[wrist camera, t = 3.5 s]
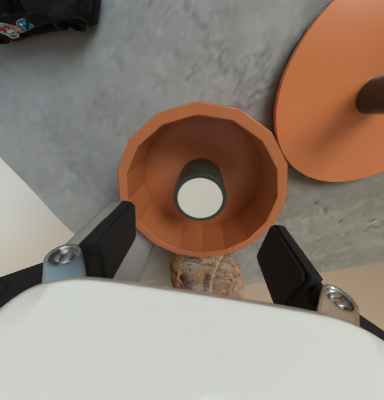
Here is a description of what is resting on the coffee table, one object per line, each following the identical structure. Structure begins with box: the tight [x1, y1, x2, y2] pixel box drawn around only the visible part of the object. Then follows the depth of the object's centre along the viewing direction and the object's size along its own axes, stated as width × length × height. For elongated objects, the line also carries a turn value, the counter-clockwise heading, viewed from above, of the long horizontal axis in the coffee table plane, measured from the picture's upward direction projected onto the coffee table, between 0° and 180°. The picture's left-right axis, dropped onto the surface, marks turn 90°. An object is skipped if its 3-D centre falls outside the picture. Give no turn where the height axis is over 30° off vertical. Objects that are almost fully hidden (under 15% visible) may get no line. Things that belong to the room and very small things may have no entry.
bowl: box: [118, 102, 288, 258], centre depth 17 cm, size 15×15×6 cm
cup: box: [65, 201, 154, 282], centre depth 19 cm, size 8×8×10 cm
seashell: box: [170, 252, 244, 298], centre depth 23 cm, size 10×9×10 cm
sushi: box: [173, 159, 227, 221], centre depth 16 cm, size 5×5×5 cm
